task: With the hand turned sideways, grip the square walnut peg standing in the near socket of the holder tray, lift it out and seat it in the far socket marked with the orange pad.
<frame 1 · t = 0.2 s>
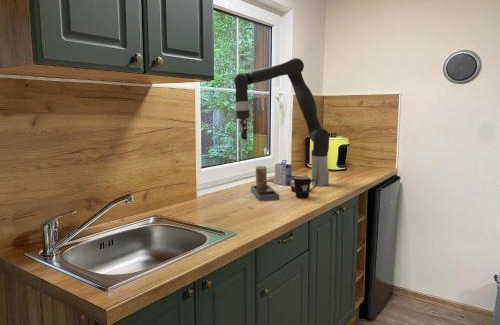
hand: (244, 138, 209), 28 cm above the worktop, tool pointing down, fingers open, 8 cm apart
ink cartridge box: (283, 184, 224), on the worktop
holder tray: (264, 194, 195), on the worktop
walnut peg: (261, 191, 203), resting in holder tray
canned food: (300, 191, 203), on the worktop
coffee mug: (305, 197, 187), on the worktop
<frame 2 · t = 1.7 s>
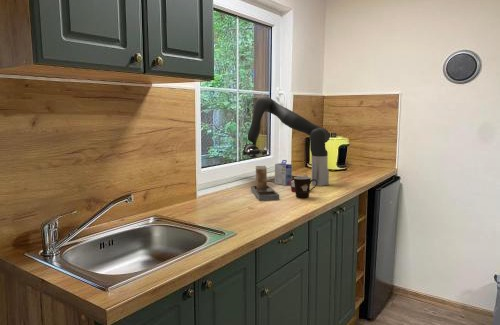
hand: (256, 153, 213), 20 cm above the worktop, tool horizontal, fingers open, 8 cm apart
nothing on the worktop moved.
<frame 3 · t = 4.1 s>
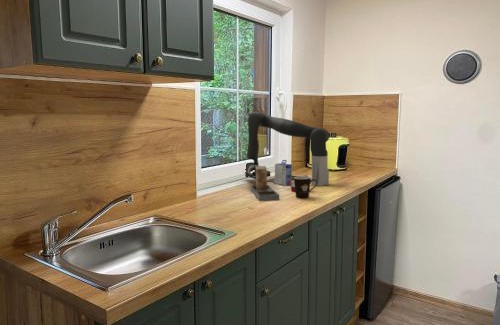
hand: (259, 175, 207), 8 cm above the worktop, tool horizontal, fingers open, 8 cm apart
nothing on the worktop moved.
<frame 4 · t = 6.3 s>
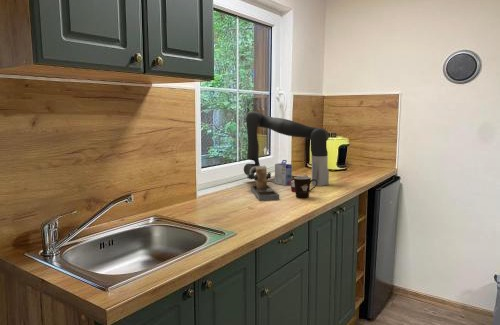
hand: (262, 178, 200), 8 cm above the worktop, tool horizontal, fingers closed on walnut peg, 5 cm apart
walnut peg: (261, 191, 203), resting in holder tray, touching gripper
everything else where it was.
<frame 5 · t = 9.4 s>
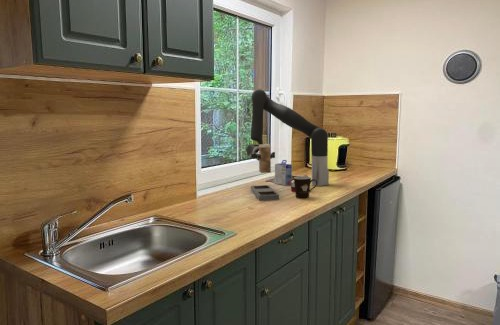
hand: (265, 156, 185), 21 cm above the worktop, tool horizontal, fingers closed on walnut peg, 5 cm apart
walnut peg: (264, 171, 189), point 13 cm above the worktop, touching gripper
everything else where it was.
when the fingers open (9 cm above the worktop, at t = 12.8 s): walnut peg drops 1 cm, resting on holder tray.
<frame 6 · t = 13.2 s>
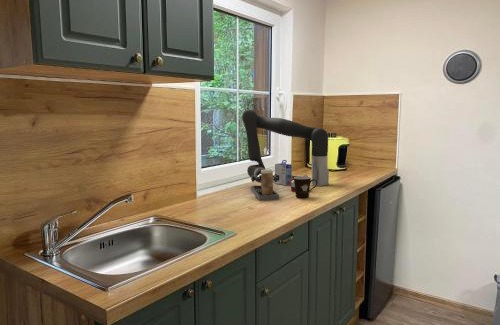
hand: (267, 180, 184), 9 cm above the worktop, tool horizontal, fingers open, 8 cm apart
walnut peg: (267, 197, 187), resting on holder tray
everything else where it was.
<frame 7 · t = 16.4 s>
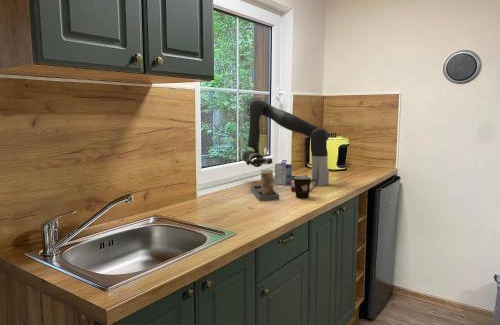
hand: (261, 162, 201), 16 cm above the worktop, tool horizontal, fingers open, 8 cm apart
nothing on the worktop moved.
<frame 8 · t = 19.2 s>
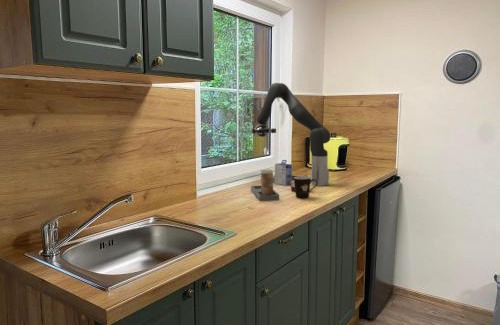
hand: (266, 131, 219), 32 cm above the worktop, tool horizontal, fingers open, 8 cm apart
nothing on the worktop moved.
at the end: walnut peg 0.0 cm from the target spot on the holder tray, point 0.2 cm above the holder tray's base; walnut peg tilted 0°; the gripper is holding nothing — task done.
